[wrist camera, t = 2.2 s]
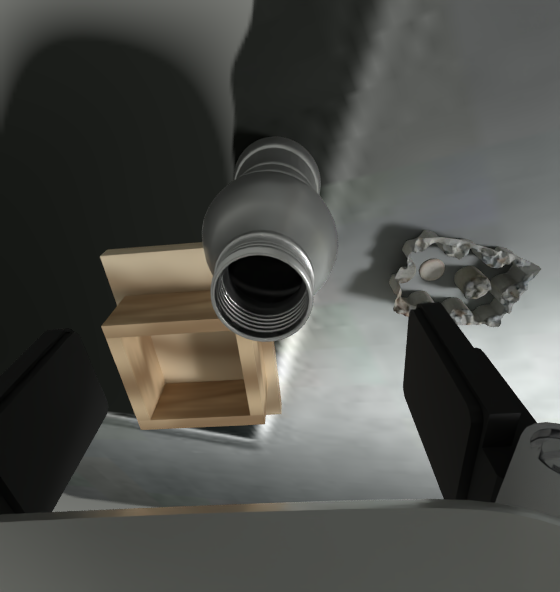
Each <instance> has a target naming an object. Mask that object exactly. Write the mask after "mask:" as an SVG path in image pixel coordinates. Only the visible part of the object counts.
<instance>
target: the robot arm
mask: <svg viewBox="0 0 560 592" xmlns="http://www.w3.org/2000/svg"><path fill="white" fill-rule="evenodd" d="M403 390H404V396H405V399H406V402H407V404H408V407H409V410H410V412H411V415H412V417H413V420H414V422H415V425H416V428H417V430H418V433H419V435H420V438H421V441H422V443H423V446H424V448H425V451H426V454H427V456H428V459H429V461H430V464H431V467H432V469H433V472H434V474H435V477H436V480H437V482H438V485H439V487H440V490H441V493H442V495H443V498H444V499H397V500H347V501H318V502H289V503H261V504H233V505H208V506H183V507H158V508H137V509H135V508H134V509H112V510H111V509H110V510H89V511H67V512H52V511H53V509H54V507H55V506H56V504H57V502H58V500H59V498H60V497H61V495H62V493H63V491H64V490H65V488H66V486H67V484H68V482H69V481H70V479H71V477H72V475H73V474H74V472H75V470H76V468H77V466H78V465H79V463H80V461H81V459H82V458H83V456H84V454H85V452H86V450H87V449H88V447H89V445H90V443H91V442H92V440H93V438H94V436H95V434H96V433H97V431H98V429H99V427H100V425H101V424H102V422H103V420H104V418H105V417H106V414H107V411H108V403H107V400H106V398H105V395H104V393H103V390H102V388H101V385H100V383H99V381H98V378H97V376H96V373H95V371H94V369H93V366H92V364H91V361H90V359H89V356H88V354H87V352H86V349H85V347H84V344H83V342H82V340H81V337H80V336H79V334H77V333H74V331H73V330H72V329H69V328H66V329H52V330H47V331H46V332H44V333H43V334H42V335H41V336H40V337H39V338H38V339H37V340H36V341H35V342H34V343H33V344H32V345H31V346H30V347H29V348H28V349H27V350H26V351H25V352H24V353H23V354H22V355H21V356H20V357H19V358H18V359H17V360H16V361H15V362H14V363H13V364H12V365H11V366H10V367H9V368H8V369H7V370H6V371H5V372H4V373H3V374H2V375H1V376H0V592H560V424H557V423H548V422H544V423H537V422H536V421H535V420H534V418H533V417H532V416H531V414H530V413H529V412H528V410H527V409H526V408H525V406H524V405H523V404H522V402H521V401H520V400H519V398H518V397H517V396H516V394H515V393H514V392H513V390H512V389H511V388H510V386H509V385H508V384H507V382H506V381H505V380H504V378H503V377H502V376H501V375H500V373H499V372H498V371H497V369H496V368H495V367H494V365H493V364H492V363H491V361H490V360H489V359H488V357H487V356H486V355H485V353H484V352H483V351H482V350H481V349H479V348H474V347H473V346H472V345H471V343H470V342H469V341H468V339H467V338H466V337H465V335H464V334H463V332H462V331H461V330H460V328H459V327H458V326H457V324H456V323H455V321H454V320H453V319H452V317H451V316H450V315H449V313H448V312H447V310H446V309H445V308H444V306H443V305H442V304H441V303H440V302H434V303H420V304H417V306H416V309H411V310H410V312H409V320H408V332H407V344H406V357H405V369H404V381H403Z"/></svg>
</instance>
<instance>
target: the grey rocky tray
mask: <svg viewBox="0 0 560 592" xmlns="http://www.w3.org/2000/svg"><path fill="white" fill-rule="evenodd" d="M432 243H436V244H437V245H438V247H439V248H440V249H441V250H442V251H443V252H444V253H445V254H446V255H447V256H450V257H456V258H458V259H461V258H462V257H464V256H466V255H468V254H469V249H470V248H471V250H472V252H473V253H474V254H475V255H476V256H477V257H479V258H480V259H481V260H482V261H483V263H485V264H486V265H488V266H489V267H491V268H500V267H503V266H504V265H505V264H508V265H510V263H512V266H511V268H510V270H509V271H508V272H507V273H503V274H499V275H497V276H495V277H493V278H492V279H491V280H489V279H488V278H487V277H486V276H485V275H484V274H483V273H482V272H481V271H480V270H478V269H477V268H476V267H474V266H466V267H463V268H461V269H460V270H458V271H457V273H456V274H455V276H454V282H455V284H456V285H457V287H458V288H459V289H460V290H461V292H462V293H463V294H464V296H465V298H466V299H469V298H471V299H478V298H480V297H482V296H484V295H485V294H486V293H487V292H488V291H489V292H490V293H491V294H492V295H493V296H494V298H493V300H492V302H491V303H490V304H484V305H481V306H479V307H477V308H476V309H475V310H474V311H470V310H469V309H468V307H467V306H466V305H465V304H464V303H463V301H462V300H461V299H459V298H454V297H453V298H448V299H446V300H445V301H443V302H442V303H441V304H442V305H443V306H444V308H445V309H446V310H447V312H448V313H449V315H450V316H451V317H452V319H453V320H454V321H455V323H456V324H457V325H472V324H474V325H480V324H486V325H487V326H489V327H499V326H500V324H501V318H502V317H503V315H504V314H506V313H510V312H511V310H512V306H513V304H514V303H515V302H517V301H518V300H519V298H520V296H521V295H522V294H523V293H524V292H525V291H526V290H527V286H528V282H529V281H530V280H531V279H533V278H534V277H535V276H536V275H537V274H538V272H539V271H540V270H541V268H540V267H539V266H537V265H535V264H533V263H532V262H530V261H527V260H525V259H523V258H520V257H518V256H517V255H515V254H514V253H513V252H511V251H510V250H508V249H507V248H504V247H499V246H498V247H496V248H495V249H494V250H493V249H491V248H487V247H483V246H480V245H476V244H475V243H473V242H472V241H471V240H468V239H463V238H461V239H460V240H458V239H451V238H444V237H438V235H436V234H435V233H434V232H432V231H427V230H424V231H423V232H422V233H421V235H420V236H419V237H417V238H416V239H413V240H407V241H406V242H405V244H404V246H403V248H402V251H403V252H404V254H405V256H406V257H407V258H408V259H407V264H408V267H400V269H399V271H398V273H397V274H392V276H391V278H390V280H389V284H390V286H391V288H392V290H393V291H394V293H395V294H396V295H397V299H396V300H395V304H394V308H393V310H394V311H396V313H398V314H403V315H404V316H408V317H409V312H410V310H411V309H416V306H417V304H420V303H434V301H433V300H432V298H431V297H430V295H429V294H428V293H427V292H425V291H415V292H413V293H411V294H410V295H409V296H408V297H407V298H405V297H401V293H402V291H401V288H400V285H399V283H406V282H408V281H409V280H410V279H412V278H413V276H414V275H415V273H416V266H415V264H414V263H413V261H412V260H411V258H410V257H409V256H410V254H411V253H412V252H415V253H416V252H419V251H421V252H422V251H424V250H425V249H426V248H427V247H428V246H430V245H431V244H432ZM444 271H445V265H444V263H443V262H442V261H440V260H439V259H429V260H427V261H425V262H424V263H423V264H422V265H421V267H420V270H419V272H420V276H421V277H422V279H424V280H426V281H434V280H437V279H438V278H440V277H441V276H442V275H443V273H444Z"/></svg>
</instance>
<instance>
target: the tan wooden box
mask: <svg viewBox="0 0 560 592" xmlns="http://www.w3.org/2000/svg"><path fill="white" fill-rule="evenodd" d="M100 258H101V261H102V263H103V266H104V269H105V272H106V275H107V278H108V280H109V283H110V286H111V289H112V292H113V295H114V298H115V301H116V304H117V307H116V308H115V309H114V311H113V312H112V313H111V314H110V316H109V317H108V318H107V320H106V321H105V322H104V324H103V325H102V326H101V327H102V330H103V332H104V335H105V337H106V340H107V343H108V345H109V348H110V350H111V353H112V355H113V358H114V361H115V363H116V366H117V368H118V371H119V374H120V376H121V379H122V381H123V384H124V386H125V389H126V392H127V394H128V397H129V399H130V402H131V404H132V407H133V410H134V412H135V415H136V417H137V420H138V423H139V425H140V428H141V430H148V429H170V428H192V427H214V426H236V425H257V424H265V416H266V415H271V414H281V405H282V404H281V396H280V387H279V379H278V371H277V363H276V355H275V347H274V341H271V342H260V341H253V340H250V339H246V338H244V337H241V336H239V335H237V334H235V333H234V332H232V331H231V330H229V329H228V328H227V327H226V326H225V325H224V324H223V323H222V322H221V321H220V319H219V318H218V316H217V315H216V313H215V311H214V309H213V306H212V302H211V290H210V289H211V282H212V278H213V275H212V273H211V271H210V269H209V267H208V264H207V262H206V258H205V253H204V249H203V244H202V242H197V243H185V244H172V245H159V246H146V247H135V248H122V249H109V250H106V251H105V252H104V253H103V254H102V255H101V256H100Z"/></svg>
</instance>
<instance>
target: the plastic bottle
mask: <svg viewBox="0 0 560 592" xmlns="http://www.w3.org/2000/svg"><path fill="white" fill-rule="evenodd" d="M320 186H321V184H320V174H319V170H318V167H317V165H316V163H315V161H314V159H313V157H312V156H311V155H310V153H309V152H308V151H307V150H306V149H305V148H304V147H303V146H302V145H300V144H298V143H297V142H295V141H293V140H290V139H288V138H285V137H277V136H274V137H266V138H262V139H259V140H257V141H255V142H254V143H252V144H250V145H249V146H248V147H247V148H246V149H245V150H244V151H243V153H242V154H241V155H240V157H239V159H238V161H237V163H236V166H235V170H234V181H232V182H231V183H229V184H228V185H227V186H226V187H225V188H224V189H223V190H221V191H220V193H219V194H217V196H216V197H215V199H214V200H213V201H212V203H211V204H210V205H209V208H208V210H207V213H206V215H205V218H204V222H203V228H202V244H203V249H204V253H205V258H206V262H207V264H208V267H209V269H210V271H211V273H212V275H213V278H212V282H211V289H210V290H211V302H212V306H213V309H214V311H215V313H216V315H217V316H218V318H219V319H220V321H221V322H222V323H223V324H224V325H225V326H226V327H227V328H228V329H229V330H231V331H232V332H234V333H235V334H237V335H239V336H241V337H244V338H246V339H250V340H253V341H260V342H271V341H277V340H282V339H284V338H287V337H289V336H291V335H293V334H294V333H296V332H297V331H298V330H299V329H300V328H301V327H302V326H303V325H304V324H305V323H306V321H307V319H308V318H309V315H310V313H311V310H312V307H313V299H314V296H313V295H315V294H316V293H317V292H318V291H319V290H320V289H321V288H322V287H323V285H324V284H325V282H326V280H327V279H328V277H329V275H330V273H331V271H332V269H333V266H334V263H335V261H336V257H337V251H338V233H337V229H336V225H335V221H334V219H333V217H332V215H331V213H330V211H329V209H328V207H327V205H326V203H325V202H324V201H323V200H322V198H321V197H320V196H319V194H320Z"/></svg>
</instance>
